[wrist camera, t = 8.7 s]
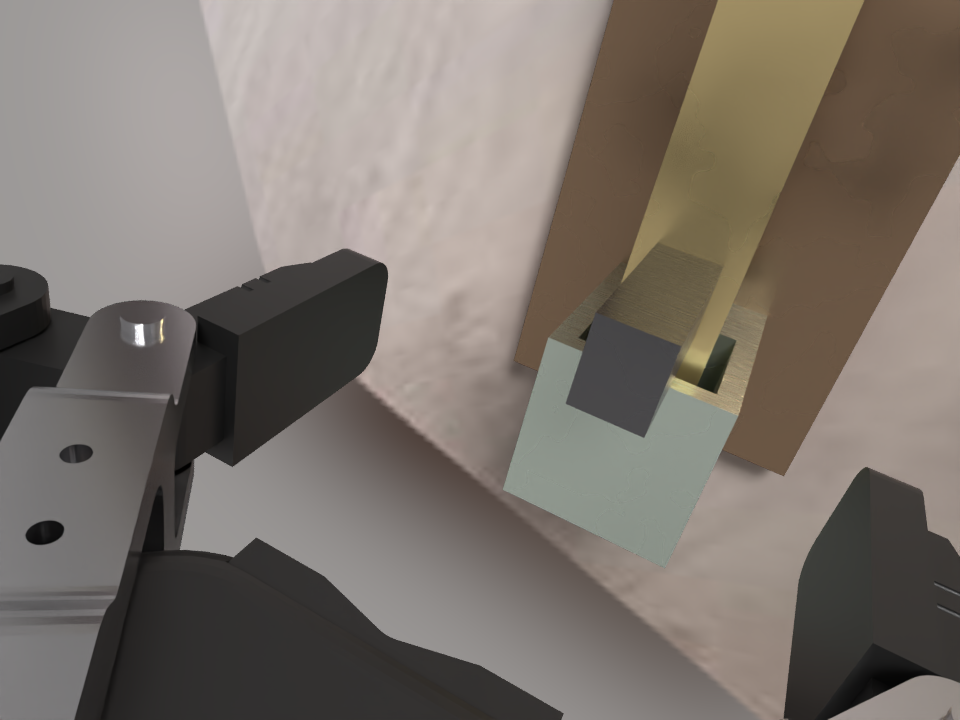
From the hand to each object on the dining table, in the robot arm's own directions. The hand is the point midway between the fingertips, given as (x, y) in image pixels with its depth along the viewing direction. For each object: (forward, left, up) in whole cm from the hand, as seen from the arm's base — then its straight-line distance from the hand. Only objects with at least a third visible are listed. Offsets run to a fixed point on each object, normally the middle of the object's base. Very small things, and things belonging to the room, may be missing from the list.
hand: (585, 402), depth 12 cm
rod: (-4, 0, -9) cm, 10 cm away
